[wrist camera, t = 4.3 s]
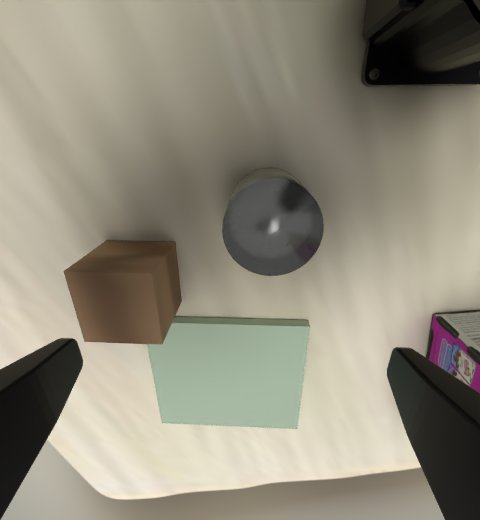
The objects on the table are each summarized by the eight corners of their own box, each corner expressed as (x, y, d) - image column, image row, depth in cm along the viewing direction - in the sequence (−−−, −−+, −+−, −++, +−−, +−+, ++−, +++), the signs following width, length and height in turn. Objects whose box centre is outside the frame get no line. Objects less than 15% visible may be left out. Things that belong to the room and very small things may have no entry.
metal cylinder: (309, 167, 17) (329, 179, 13) (302, 242, 19) (317, 276, 15) (229, 167, 17) (220, 179, 13) (231, 242, 19) (223, 274, 15)
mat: (308, 320, 22) (310, 326, 21) (295, 421, 27) (297, 429, 26) (146, 315, 22) (143, 322, 22) (164, 415, 27) (161, 423, 27)
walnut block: (175, 241, 20) (151, 273, 15) (181, 300, 22) (162, 344, 17) (107, 239, 20) (63, 271, 15) (119, 298, 22) (84, 341, 17)
